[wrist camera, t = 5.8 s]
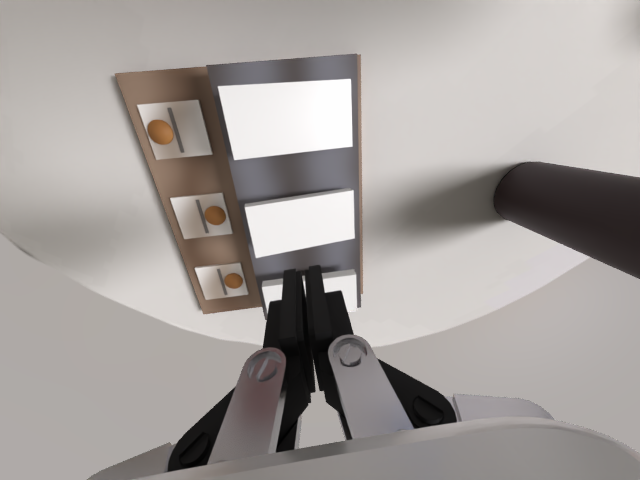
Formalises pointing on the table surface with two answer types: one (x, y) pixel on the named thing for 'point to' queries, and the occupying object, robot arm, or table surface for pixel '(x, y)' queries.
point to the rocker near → (287, 117)
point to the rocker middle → (301, 221)
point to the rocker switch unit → (238, 174)
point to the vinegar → (577, 210)
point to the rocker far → (331, 283)
